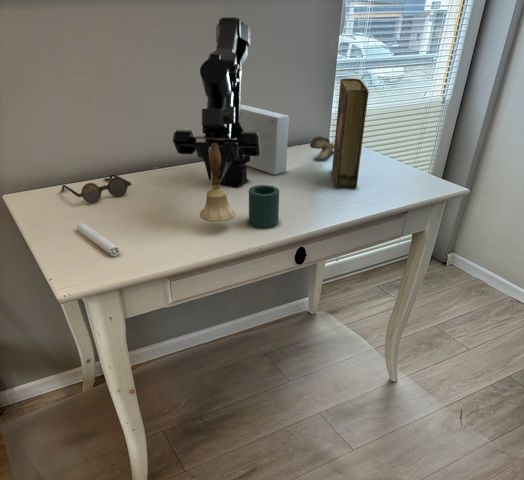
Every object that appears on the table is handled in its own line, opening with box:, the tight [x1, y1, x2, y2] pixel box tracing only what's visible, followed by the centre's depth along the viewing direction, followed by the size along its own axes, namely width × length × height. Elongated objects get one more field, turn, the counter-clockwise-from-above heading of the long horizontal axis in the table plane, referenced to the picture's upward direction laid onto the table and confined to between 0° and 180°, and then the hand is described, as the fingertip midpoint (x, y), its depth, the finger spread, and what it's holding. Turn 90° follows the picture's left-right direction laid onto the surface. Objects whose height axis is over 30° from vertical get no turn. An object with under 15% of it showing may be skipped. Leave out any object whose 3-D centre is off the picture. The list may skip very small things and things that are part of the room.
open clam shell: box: [309, 136, 335, 162], centre depth 160 cm, size 8×7×9 cm
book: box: [331, 78, 370, 189], centre depth 137 cm, size 16×6×25 cm, turn 179°
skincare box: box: [240, 104, 290, 176], centre depth 149 cm, size 21×6×16 cm, turn 43°
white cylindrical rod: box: [76, 222, 120, 257], centre depth 110 cm, size 18×2×2 cm, turn 41°
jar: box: [248, 184, 280, 230], centre depth 117 cm, size 7×7×8 cm
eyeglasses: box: [61, 173, 132, 204], centre depth 133 cm, size 15×15×5 cm
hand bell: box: [199, 143, 236, 223], centre depth 110 cm, size 8×8×16 cm
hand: (214, 179), depth 108 cm, fingers closed on hand bell
